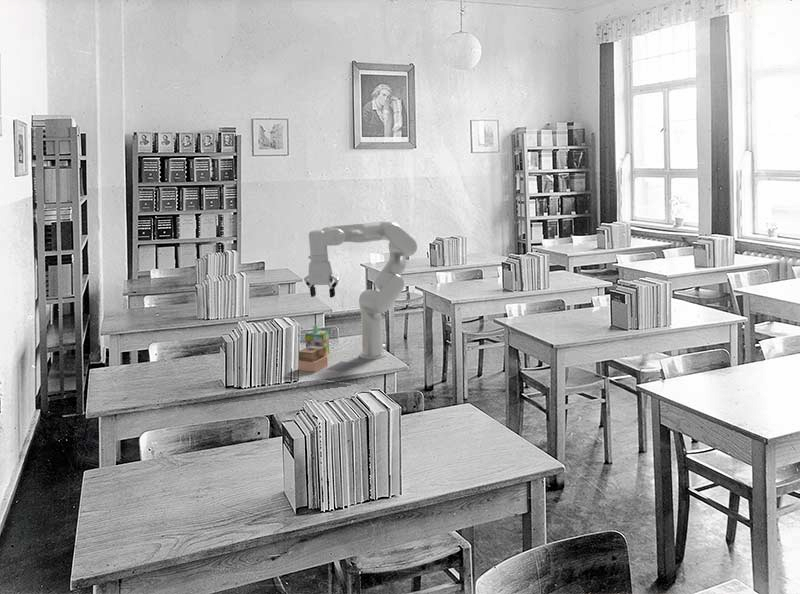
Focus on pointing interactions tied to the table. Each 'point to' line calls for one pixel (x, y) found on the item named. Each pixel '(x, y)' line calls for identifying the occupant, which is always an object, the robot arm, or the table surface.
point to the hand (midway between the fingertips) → (322, 296)
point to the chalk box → (318, 339)
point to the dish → (313, 364)
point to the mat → (343, 366)
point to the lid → (311, 353)
